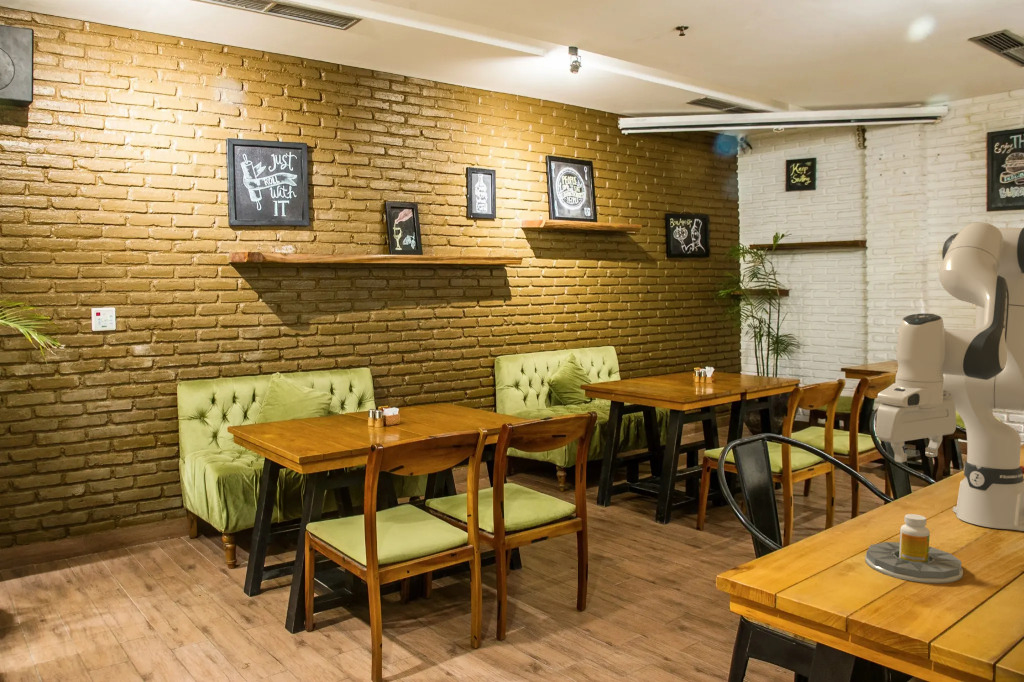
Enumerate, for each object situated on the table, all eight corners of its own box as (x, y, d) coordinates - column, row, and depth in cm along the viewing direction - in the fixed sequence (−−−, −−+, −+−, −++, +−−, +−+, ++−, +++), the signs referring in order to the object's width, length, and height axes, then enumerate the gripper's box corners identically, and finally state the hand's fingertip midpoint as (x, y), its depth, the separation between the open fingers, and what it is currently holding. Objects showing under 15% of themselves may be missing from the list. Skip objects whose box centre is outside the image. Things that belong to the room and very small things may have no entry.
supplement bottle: (931, 568, 158) (934, 521, 157) (903, 566, 159) (905, 519, 158) (923, 559, 163) (925, 513, 163) (895, 557, 164) (897, 512, 164)
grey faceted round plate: (904, 546, 173) (904, 537, 173) (982, 574, 157) (983, 563, 157) (846, 558, 166) (846, 548, 165) (922, 589, 149) (923, 578, 149)
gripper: (938, 387, 168) (935, 450, 169) (871, 394, 159) (869, 461, 160) (966, 391, 162) (963, 456, 163) (898, 399, 153) (896, 468, 154)
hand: (916, 459), depth 162 cm, fingers open, 8 cm apart
